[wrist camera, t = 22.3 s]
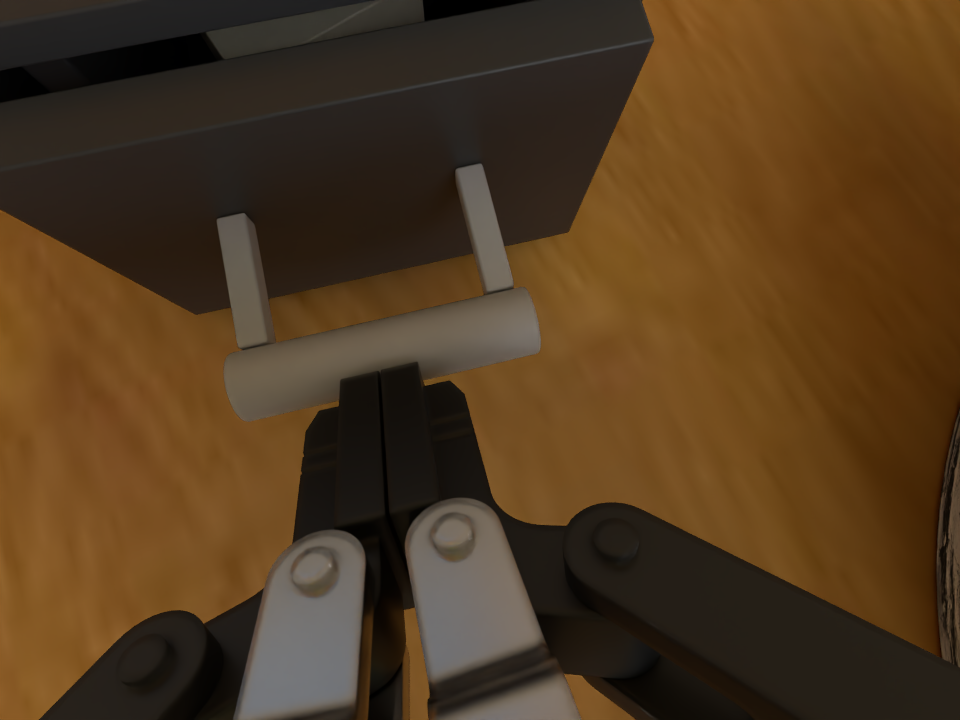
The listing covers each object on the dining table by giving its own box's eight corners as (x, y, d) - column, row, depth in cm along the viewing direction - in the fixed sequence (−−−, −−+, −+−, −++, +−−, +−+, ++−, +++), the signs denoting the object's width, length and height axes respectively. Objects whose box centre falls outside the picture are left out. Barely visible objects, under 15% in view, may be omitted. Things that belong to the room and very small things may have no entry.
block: (302, 188, 16) (237, 80, 11) (224, 71, 16) (132, -75, 12) (433, 110, 16) (421, -23, 12) (352, 0, 17) (312, -165, 12)
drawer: (606, 363, 16) (737, 274, 8) (217, 457, 15) (-36, 453, 8) (466, -121, 19) (467, -515, 11) (136, -64, 18) (-103, -443, 11)
